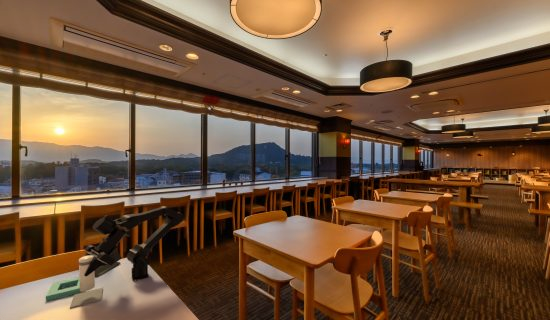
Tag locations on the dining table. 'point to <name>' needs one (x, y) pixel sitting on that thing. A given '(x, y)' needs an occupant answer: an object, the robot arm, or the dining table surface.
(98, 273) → the phone
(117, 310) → the dining table surface
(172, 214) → the robot arm
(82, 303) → the beige square plate
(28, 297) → the dining table surface
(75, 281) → the green square frame
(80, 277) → the white capped cylinder
